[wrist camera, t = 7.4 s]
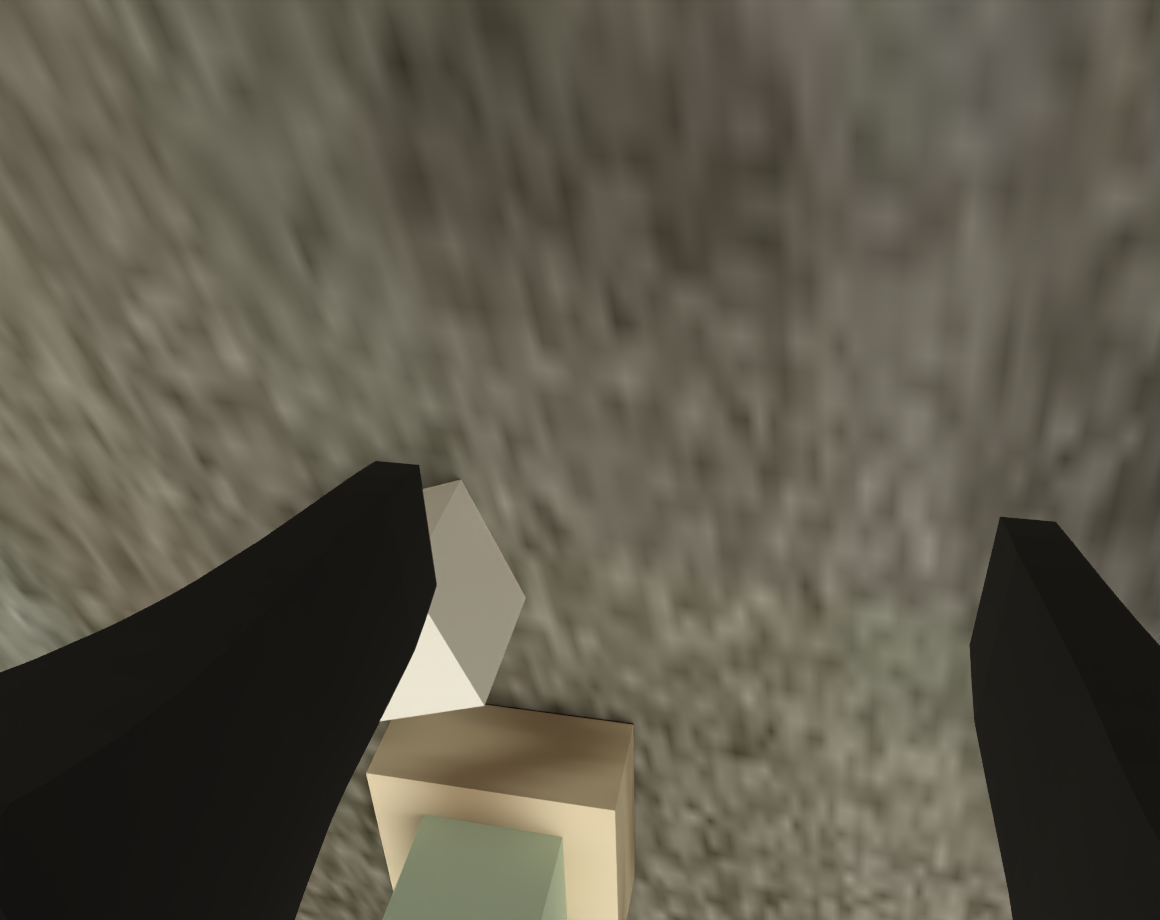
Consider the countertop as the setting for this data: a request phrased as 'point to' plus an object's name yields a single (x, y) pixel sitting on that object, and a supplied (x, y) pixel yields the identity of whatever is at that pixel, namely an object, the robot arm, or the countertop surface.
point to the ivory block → (459, 612)
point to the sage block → (479, 874)
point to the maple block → (517, 791)
